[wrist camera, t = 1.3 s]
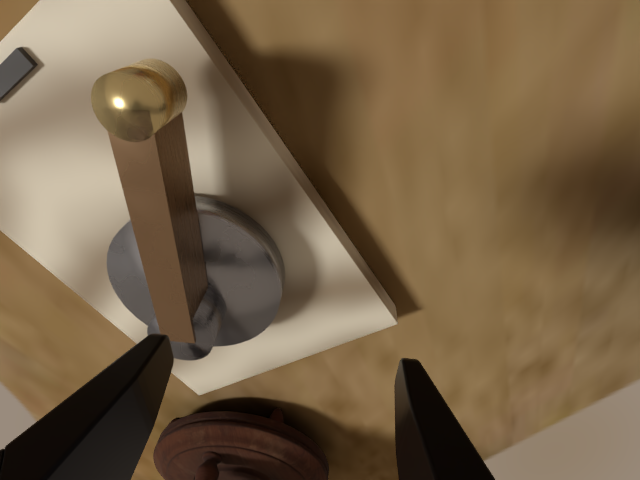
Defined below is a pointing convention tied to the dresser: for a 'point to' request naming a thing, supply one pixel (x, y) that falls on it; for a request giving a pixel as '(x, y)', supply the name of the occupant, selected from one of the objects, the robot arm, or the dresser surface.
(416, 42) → the dresser surface
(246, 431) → the brown tall stacked figurine
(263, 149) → the ash stand
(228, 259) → the cam lever
